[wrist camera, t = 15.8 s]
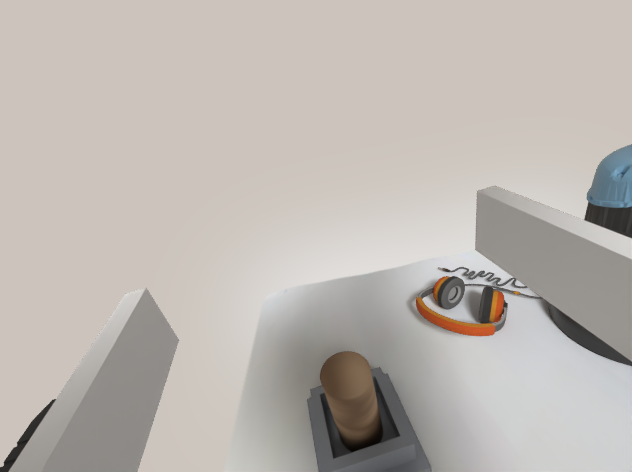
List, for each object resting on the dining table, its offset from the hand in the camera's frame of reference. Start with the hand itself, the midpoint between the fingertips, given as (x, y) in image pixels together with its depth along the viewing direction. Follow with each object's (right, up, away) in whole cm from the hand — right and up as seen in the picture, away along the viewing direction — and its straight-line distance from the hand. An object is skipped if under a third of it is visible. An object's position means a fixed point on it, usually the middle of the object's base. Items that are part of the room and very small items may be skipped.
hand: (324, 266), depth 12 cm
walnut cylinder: (+5, -21, +22) cm, 31 cm away
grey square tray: (+5, -22, +22) cm, 32 cm away
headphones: (+24, -10, +35) cm, 44 cm away
